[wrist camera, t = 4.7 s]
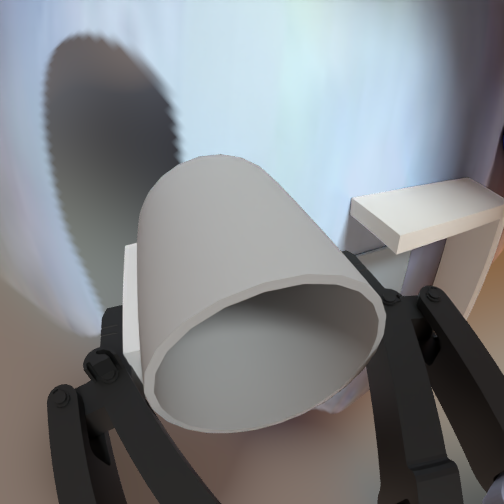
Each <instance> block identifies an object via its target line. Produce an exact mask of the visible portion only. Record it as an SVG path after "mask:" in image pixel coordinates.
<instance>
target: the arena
mask: <svg viewBox="0 0 504 504" xmlns="http://www.w3.org/2000/svg"><path fill="white" fill-rule="evenodd" d="M350 215H351V216H352V217H353V218H355V219H356V220H357V221H358V222H359V223H361V224H362V225H363V226H364V227H365V228H367V229H368V230H369V231H370V232H371V233H372V234H374V235H375V236H376V237H377V238H378V239H379V240H380V241H382V242H383V243H384V244H385V245H386V246H387V247H388V248H390V249H391V250H392V251H393V252H394V253H395V254H396V255H397V254H400V253H403V252H406V251H409V250H412V249H415V248H418V247H421V246H424V245H427V244H430V243H433V242H436V241H439V240H442V239H445V238H447V240H446V244H445V247H444V251H443V254H442V258H441V261H440V264H439V267H438V271H437V274H436V277H435V280H434V283H433V286H435V287H438V288H440V289H442V290H443V291H444V292H445V293H446V295H447V296H448V297H449V298H450V300H451V301H452V302H453V304H454V305H455V306H456V308H457V309H458V310H459V312H460V313H461V314H462V316H463V317H464V318H465V320H467V318H468V316H469V314H470V312H471V310H472V307H473V305H474V303H475V301H476V299H477V297H478V294H479V292H480V290H481V287H482V285H483V283H484V280H485V277H486V275H487V273H488V270H489V268H490V265H491V262H492V260H493V257H494V254H495V251H496V249H497V246H498V243H499V240H500V237H501V234H502V231H503V228H504V198H503V197H501V196H500V195H498V194H496V193H495V192H493V191H491V190H490V189H488V188H486V187H485V186H483V185H481V184H479V183H478V182H476V181H474V180H472V179H470V178H469V177H467V178H461V179H454V180H448V181H442V182H436V183H430V184H424V185H419V186H413V187H407V188H401V189H396V190H390V191H385V192H379V193H374V194H369V195H363V196H358V197H353V198H351V210H350Z"/></svg>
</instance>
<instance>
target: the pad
mask: <svg viewBox="0 0 504 504" xmlns="http://www.w3.org/2000/svg"><path fill="white" fill-rule="evenodd" d="M410 254H411V250H409V251H406V252H403V253H400V254H397V255H396V254H395V253H394V252H393V251H392V250H391V249H390V248H388V247H387V246H385V247H382V248H379V249H375V250H372V251H368V252H365V253H362V254H358V255H355V256H356V257H357V258H358V259H359V260H360V261H361V262H362V264H364V265H365V267H366V268H367V269H368V270H369V271H370V272H371V273H372V274H373V276H374V277H375V278H376V279H377V280H378V281H379V282H380V283H381V285H382V286H383V287H384V288H387V289H393V290H395V291H397V292H398V293H400V292H401V289H402V285H403V282H404V278H405V274H406V270H407V266H408V262H409V258H410Z"/></svg>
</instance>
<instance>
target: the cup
mask: <svg viewBox="0 0 504 504" xmlns="http://www.w3.org/2000/svg"><path fill="white" fill-rule="evenodd" d="M137 297H138V322H139V340H140V354H141V366H142V377H143V387H144V394H145V396H146V398H147V400H148V402H149V404H150V406H151V407H152V409H153V410H154V411H155V412H156V413H158V414H159V415H160V416H161V417H162V418H164V419H165V420H166V421H168V422H170V423H172V424H175V425H177V426H180V427H182V428H185V429H188V430H194V431H200V432H205V433H236V432H243V431H251V430H257V429H260V428H265V427H268V426H272V425H275V424H279V423H282V422H284V421H287V420H289V419H292V418H294V417H297V416H299V415H302V414H304V413H306V412H308V411H309V410H311V409H313V408H315V407H317V406H318V405H320V404H322V403H324V402H325V401H327V400H328V399H330V398H331V397H333V396H334V395H335V394H337V393H338V392H339V391H341V390H342V389H343V388H345V387H346V386H347V385H348V384H349V383H350V382H351V381H352V380H353V379H354V378H355V377H356V376H357V375H358V374H359V373H360V372H361V371H362V370H363V369H364V368H365V366H366V365H367V364H368V362H369V361H370V360H371V358H372V357H373V355H374V354H375V353H376V351H377V348H378V346H379V344H380V342H381V339H382V337H383V335H384V329H385V321H386V313H385V309H384V306H383V303H382V300H381V297H380V296H379V295H378V294H377V293H376V291H375V290H374V289H373V288H372V287H371V285H370V284H369V283H368V282H367V281H366V280H365V278H364V277H363V276H362V275H361V274H360V273H359V271H358V270H357V269H356V268H355V267H354V266H353V264H352V263H351V262H350V261H349V260H348V259H347V258H346V256H345V255H344V254H343V253H342V252H341V251H340V250H339V248H338V247H337V246H336V245H335V244H334V243H333V242H332V241H331V239H330V238H329V237H328V236H327V235H326V234H325V233H324V232H323V231H322V229H321V228H320V227H319V226H318V225H317V224H316V223H315V222H314V221H313V220H312V219H311V217H310V216H309V215H308V214H307V213H306V212H305V211H304V210H303V209H302V208H301V207H300V206H299V205H298V203H297V202H296V201H295V200H294V199H293V198H292V197H291V196H290V195H289V194H288V193H287V192H286V191H285V190H284V189H283V188H282V187H281V186H280V185H279V183H278V182H276V181H275V180H274V179H273V178H272V177H271V176H270V175H269V174H268V173H267V172H266V171H265V170H263V169H262V168H261V167H259V166H258V165H256V164H254V163H252V162H249V161H247V160H245V159H243V158H241V157H235V156H229V155H222V154H218V155H209V156H200V157H197V158H194V159H191V160H189V161H186V162H184V163H181V164H179V165H177V166H176V167H174V168H173V169H172V170H170V171H169V172H167V173H166V174H165V175H163V176H162V177H161V178H160V179H159V180H158V181H157V183H156V184H155V185H154V186H153V188H152V189H151V190H150V191H149V193H148V194H147V197H146V199H145V202H144V204H143V206H142V209H141V211H140V217H139V225H138V236H137Z"/></svg>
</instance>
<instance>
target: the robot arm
mask: <svg viewBox="0 0 504 504" xmlns="http://www.w3.org/2000/svg"><path fill="white" fill-rule="evenodd" d="M342 253H343V254H344V255H345V256H346V258H347V259H348V260H349V261H350V262H351V263H352V264H353V266H354V267H355V268H356V269H357V270H358V271H359V273H360V274H361V275H362V276H363V277H364V278H365V280H366V281H367V282H368V283H369V284H370V285H371V287H372V288H373V289H374V290H375V291H376V293H377V294H378V295H379V296H380V297H381V300H382V303H383V306H384V309H385V313H386V321H385V329H384V335H383V337H382V339H381V342H380V344H379V346H378V348H377V351H376V353H375V354H374V355H373V357H372V358H371V360H370V361H369V362H368V364H367V365H366V368H367V374H368V380H369V387H370V393H371V400H372V407H373V414H374V422H375V431H376V439H377V448H378V458H379V469H380V480H381V487H380V491H379V495H378V504H463V496H462V489H461V482H460V476H459V470H458V467H457V465H456V463H455V462H454V461H452V460H450V459H448V457H447V454H446V450H445V445H444V440H443V434H442V430H441V425H440V421H439V417H438V412H437V408H436V404H435V399H434V395H433V392H432V389H433V391H434V392H435V395H436V396H437V398H438V400H439V402H440V404H441V406H442V408H443V410H444V412H445V414H446V416H447V418H448V420H449V422H450V424H451V426H452V428H453V430H454V432H455V434H456V436H457V438H458V440H459V442H460V444H461V447H462V449H463V451H464V453H465V455H466V458H467V460H468V462H469V464H470V466H471V468H472V471H473V473H474V474H475V477H476V478H477V480H478V481H479V483H480V484H481V486H482V487H483V489H484V490H485V491H486V492H487V495H486V496H485V497H484V499H483V502H482V504H504V375H503V374H502V372H501V371H500V369H499V367H498V366H497V364H496V363H495V361H494V360H493V358H492V357H491V355H490V354H489V352H488V351H487V349H486V348H485V346H484V345H483V343H482V342H481V341H480V339H479V338H478V336H477V335H476V334H475V332H474V331H473V330H472V328H471V327H470V325H469V324H468V322H467V321H466V320H465V318H464V317H463V316H462V314H461V313H460V312H459V310H458V309H457V308H456V306H455V305H454V304H453V302H452V301H451V300H450V298H449V297H448V296H447V295H446V293H445V292H444V291H443V290H442V289H440V288H438V287H435V286H425V287H423V288H422V289H421V290H420V292H419V295H417V296H402V295H401V294H400V293H398V292H397V291H395V290H393V289H387V288H384V287H383V286H382V285H381V283H380V282H379V281H378V280H377V279H376V278H375V277H374V276H373V274H372V273H371V272H370V271H369V270H368V269H367V268H366V267H365V265H364V264H362V262H361V261H360V260H359V259H358V258H357V257H356V256H355V255H353V254H352V253H350V252H348V251H342ZM101 328H102V329H101V345H100V347H99V348H96V349H94V350H93V351H91V352H90V353H89V354H88V355H87V356H86V358H85V360H84V363H83V367H84V371H85V372H86V374H87V375H88V376H89V378H90V379H91V381H89V382H88V383H86V384H84V385H82V386H80V387H78V388H75V389H74V388H73V387H72V386H70V385H67V384H64V385H59V386H57V387H55V388H54V389H53V390H52V391H51V392H50V394H49V396H48V400H47V411H48V426H49V439H50V448H51V456H52V465H53V472H54V478H55V484H56V490H57V495H58V500H59V504H127V502H126V499H125V495H124V492H123V489H122V485H121V482H120V478H119V475H118V471H117V467H116V463H115V459H114V455H113V451H112V446H111V442H110V437H109V433H108V430H111V429H113V428H115V429H116V431H117V433H118V435H119V437H120V439H121V441H122V442H123V444H124V446H125V448H126V450H127V452H128V453H129V455H130V457H131V459H132V460H133V462H134V464H135V466H136V467H137V469H138V470H139V472H140V474H141V475H142V477H143V479H144V480H145V482H146V484H147V485H148V487H149V488H150V490H151V491H152V493H153V494H154V496H155V497H156V499H157V500H158V502H159V503H160V504H221V503H220V502H219V500H218V499H217V498H216V497H215V496H214V494H213V493H212V492H211V491H210V489H209V488H208V487H207V486H206V485H205V483H204V482H203V481H202V479H201V478H200V477H199V476H198V474H197V473H196V472H195V470H194V469H193V468H192V467H191V465H190V464H189V462H188V461H187V460H186V458H185V457H184V456H183V454H182V453H181V451H180V450H179V449H178V447H177V446H176V444H175V443H174V441H173V440H172V438H171V437H170V436H169V434H168V433H167V431H166V430H165V428H164V427H163V425H162V424H161V422H160V421H159V419H158V417H157V416H156V414H155V413H154V411H153V409H152V408H151V406H150V405H149V403H148V402H147V400H146V399H145V394H144V387H143V377H142V366H141V354H140V340H139V322H138V297H137V243H135V244H131V245H127V246H125V259H124V281H123V305H121V306H116V307H112V308H107V309H106V311H105V313H104V315H103V317H102V325H101ZM435 333H436V334H435ZM431 387H432V388H431Z"/></svg>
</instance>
